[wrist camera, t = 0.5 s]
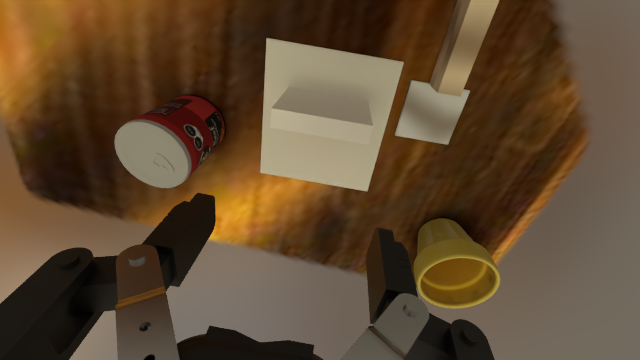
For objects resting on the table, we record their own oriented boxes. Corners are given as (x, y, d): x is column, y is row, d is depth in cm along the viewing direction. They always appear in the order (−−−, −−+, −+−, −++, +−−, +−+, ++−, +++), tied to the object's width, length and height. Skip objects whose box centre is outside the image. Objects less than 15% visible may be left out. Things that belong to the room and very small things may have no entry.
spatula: (440, -19, 29) (453, -23, 26) (508, -7, 29) (529, -10, 26) (394, 133, 38) (398, 145, 34) (446, 142, 38) (455, 155, 34)
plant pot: (402, 257, 49) (413, 308, 40) (407, 208, 44) (421, 255, 35) (466, 258, 48) (491, 311, 39) (479, 208, 42) (511, 256, 34)
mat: (267, 37, 33) (266, 38, 33) (403, 61, 33) (403, 62, 33) (261, 170, 42) (260, 172, 42) (367, 189, 42) (367, 191, 42)
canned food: (216, 157, 42) (178, 199, 33) (164, 130, 40) (108, 166, 31) (235, 114, 38) (198, 147, 29) (178, 82, 37) (119, 106, 27)
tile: (288, 86, 35) (271, 108, 28) (368, 100, 35) (373, 126, 28) (286, 103, 36) (270, 128, 29) (364, 116, 36) (368, 145, 29)
